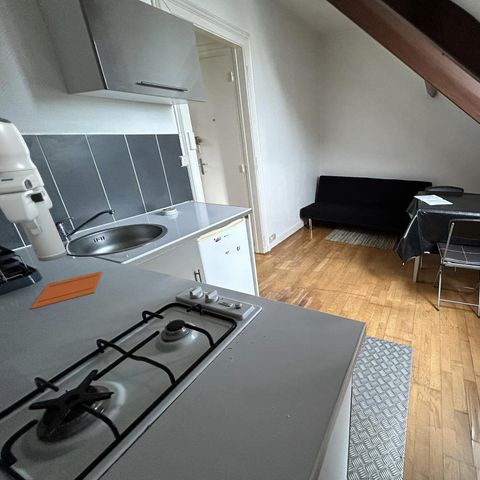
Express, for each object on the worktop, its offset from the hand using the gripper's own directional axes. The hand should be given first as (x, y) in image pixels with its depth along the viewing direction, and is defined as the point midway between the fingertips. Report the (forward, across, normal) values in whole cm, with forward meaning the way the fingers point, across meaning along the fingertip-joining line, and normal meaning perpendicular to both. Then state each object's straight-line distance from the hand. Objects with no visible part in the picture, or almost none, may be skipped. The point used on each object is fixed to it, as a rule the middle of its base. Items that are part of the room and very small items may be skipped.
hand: (42, 230), depth 75 cm
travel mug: (+9, 0, 0) cm, 9 cm away
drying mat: (+20, 0, 0) cm, 20 cm away
